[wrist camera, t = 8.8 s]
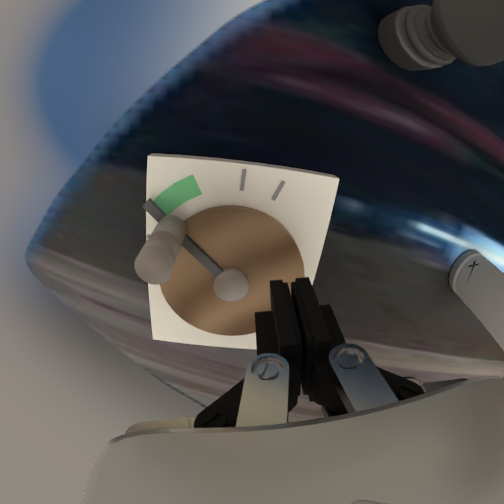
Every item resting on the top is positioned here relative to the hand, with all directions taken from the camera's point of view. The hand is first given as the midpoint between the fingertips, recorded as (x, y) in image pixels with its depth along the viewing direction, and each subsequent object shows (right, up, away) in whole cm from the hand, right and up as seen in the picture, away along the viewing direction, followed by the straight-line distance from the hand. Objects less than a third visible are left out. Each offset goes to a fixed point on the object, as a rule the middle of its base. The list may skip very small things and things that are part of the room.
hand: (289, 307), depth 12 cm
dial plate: (-4, +1, +16) cm, 16 cm away
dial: (-5, +2, +14) cm, 15 cm away
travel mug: (+26, 0, +18) cm, 32 cm away
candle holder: (+13, +22, +6) cm, 26 cm away
